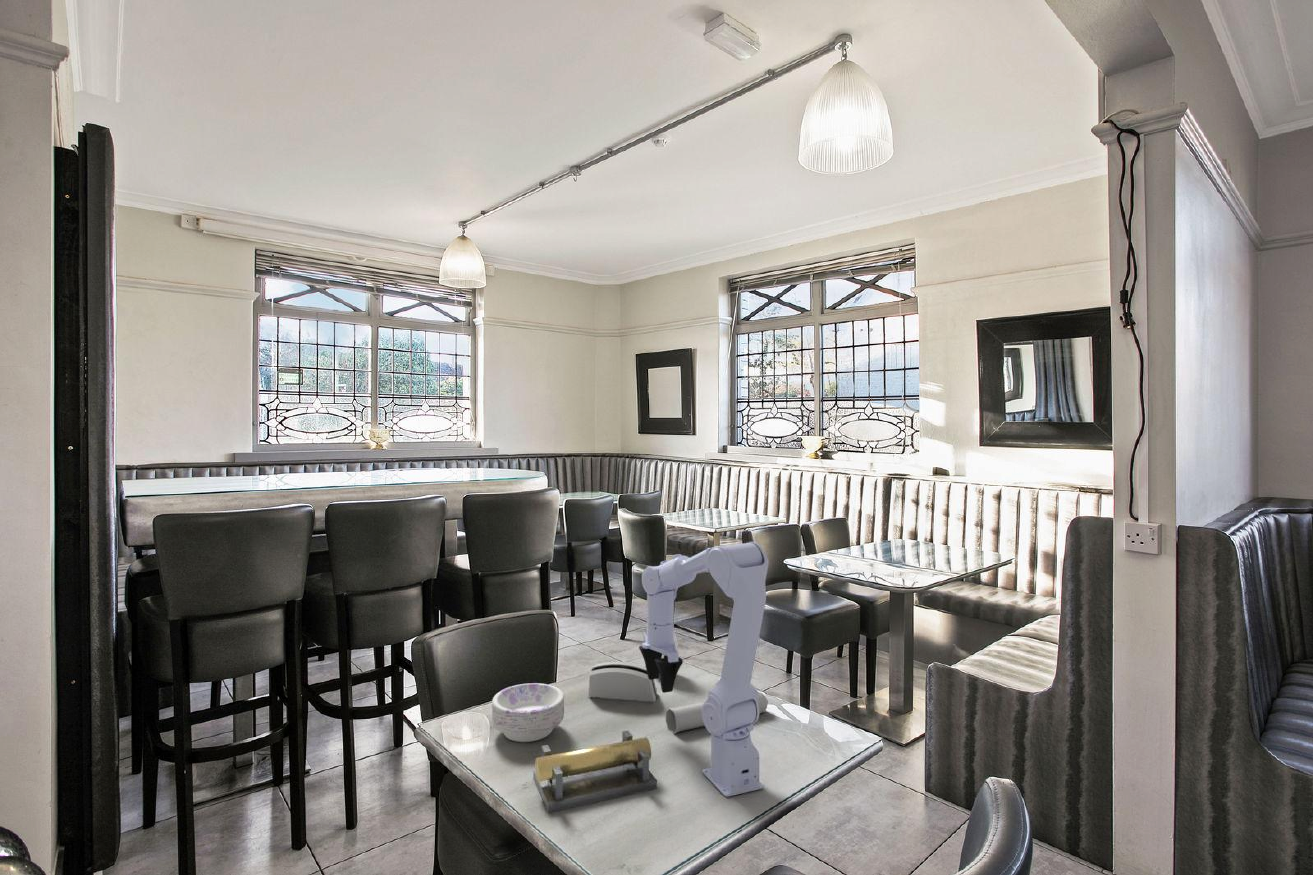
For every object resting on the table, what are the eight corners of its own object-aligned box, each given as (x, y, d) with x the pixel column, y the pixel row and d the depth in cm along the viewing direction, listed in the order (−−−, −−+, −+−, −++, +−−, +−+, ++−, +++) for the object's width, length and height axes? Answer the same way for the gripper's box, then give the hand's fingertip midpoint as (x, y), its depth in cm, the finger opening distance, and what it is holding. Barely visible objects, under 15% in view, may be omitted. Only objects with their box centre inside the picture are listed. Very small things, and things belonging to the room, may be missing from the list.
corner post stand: (657, 788, 120) (657, 755, 120) (548, 812, 113) (548, 777, 112) (633, 758, 131) (633, 728, 131) (533, 778, 124) (533, 746, 124)
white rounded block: (658, 693, 163) (656, 660, 160) (655, 707, 159) (653, 673, 156) (593, 688, 166) (589, 656, 163) (588, 702, 162) (584, 669, 159)
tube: (756, 688, 157) (663, 707, 146) (769, 689, 153) (675, 708, 141) (760, 712, 156) (667, 733, 144) (774, 713, 151) (678, 735, 140)
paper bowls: (509, 757, 132) (509, 717, 132) (481, 729, 144) (481, 692, 144) (577, 736, 141) (577, 699, 141) (544, 711, 153) (544, 677, 153)
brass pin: (643, 754, 128) (643, 733, 128) (651, 764, 124) (651, 743, 124) (535, 775, 120) (535, 753, 120) (540, 787, 116) (540, 764, 116)
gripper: (631, 614, 147) (630, 675, 147) (656, 633, 134) (655, 700, 134) (660, 611, 150) (660, 671, 150) (687, 629, 136) (687, 695, 137)
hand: (660, 685), depth 142 cm, fingers open, 7 cm apart
